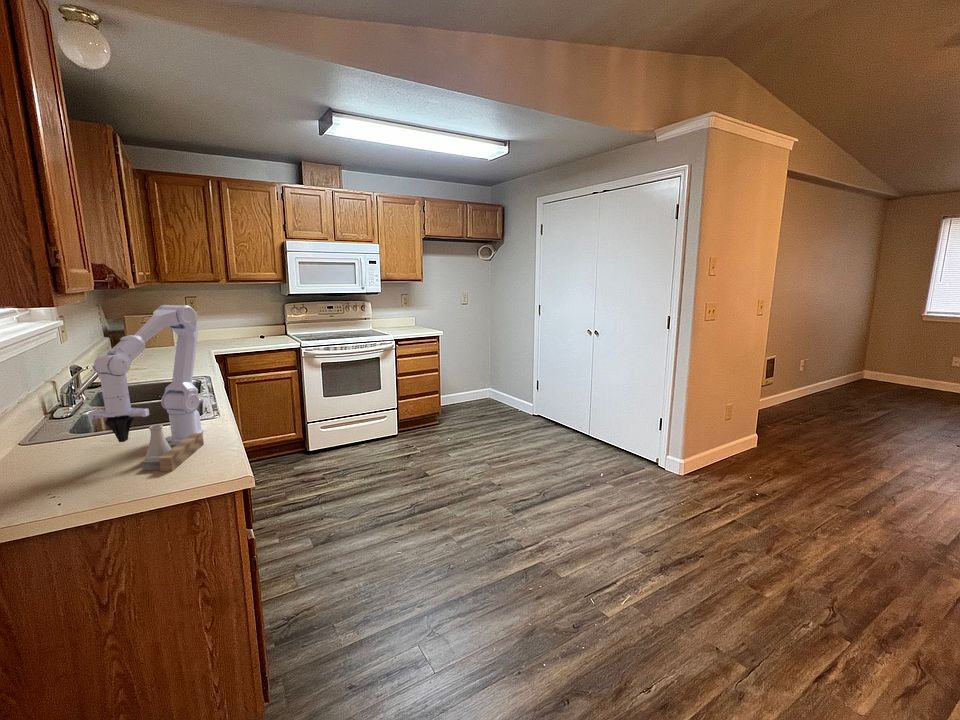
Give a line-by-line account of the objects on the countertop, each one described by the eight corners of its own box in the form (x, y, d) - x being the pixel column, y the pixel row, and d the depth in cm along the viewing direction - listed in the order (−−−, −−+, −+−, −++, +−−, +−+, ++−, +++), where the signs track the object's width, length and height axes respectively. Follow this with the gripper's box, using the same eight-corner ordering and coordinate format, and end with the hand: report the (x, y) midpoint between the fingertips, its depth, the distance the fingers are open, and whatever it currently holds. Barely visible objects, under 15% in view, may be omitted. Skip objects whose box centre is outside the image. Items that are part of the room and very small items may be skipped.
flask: (180, 454, 135) (176, 423, 133) (160, 464, 128) (155, 431, 126) (160, 452, 137) (156, 421, 135) (138, 462, 130) (133, 429, 128)
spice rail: (176, 445, 142) (174, 433, 141) (203, 444, 143) (202, 432, 142) (140, 472, 123) (138, 459, 122) (172, 471, 124) (170, 457, 123)
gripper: (77, 400, 122) (85, 447, 125) (136, 398, 124) (143, 444, 127) (94, 394, 129) (102, 438, 131) (150, 392, 131) (156, 435, 134)
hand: (123, 440), depth 130 cm, fingers closed
